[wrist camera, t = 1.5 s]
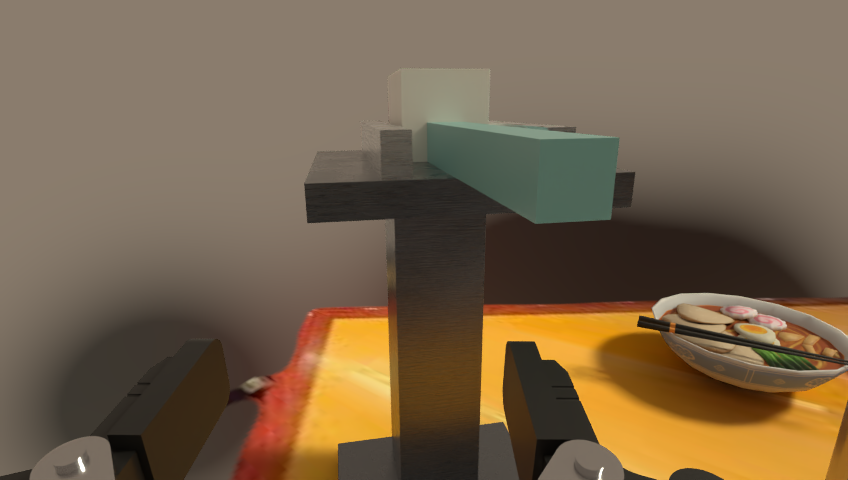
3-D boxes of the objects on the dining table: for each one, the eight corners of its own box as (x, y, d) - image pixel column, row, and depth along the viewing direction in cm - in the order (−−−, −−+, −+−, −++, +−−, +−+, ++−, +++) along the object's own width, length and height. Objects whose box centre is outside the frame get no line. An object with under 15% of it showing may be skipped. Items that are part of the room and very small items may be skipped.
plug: (458, 150, 40) (459, 76, 38) (657, 217, 15) (684, 18, 14) (389, 151, 39) (387, 76, 37) (483, 226, 14) (489, 13, 13)
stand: (502, 437, 52) (517, 119, 42) (584, 599, 35) (640, 125, 25) (339, 459, 48) (315, 121, 39) (341, 649, 31) (300, 131, 22)
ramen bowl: (834, 359, 67) (848, 307, 65) (885, 459, 48) (907, 391, 46) (645, 321, 79) (651, 277, 77) (626, 389, 60) (634, 332, 58)
